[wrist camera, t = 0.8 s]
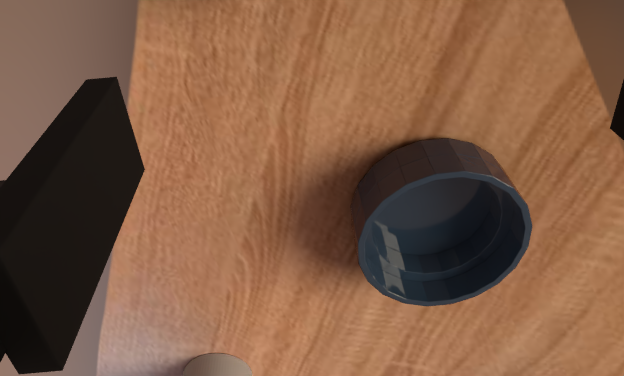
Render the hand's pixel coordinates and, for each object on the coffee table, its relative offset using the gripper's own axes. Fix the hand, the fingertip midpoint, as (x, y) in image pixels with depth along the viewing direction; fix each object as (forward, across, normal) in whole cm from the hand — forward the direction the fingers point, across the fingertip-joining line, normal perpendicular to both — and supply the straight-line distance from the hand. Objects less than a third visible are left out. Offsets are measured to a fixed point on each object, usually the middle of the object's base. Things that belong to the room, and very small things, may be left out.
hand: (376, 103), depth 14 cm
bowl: (+27, +9, -24) cm, 37 cm away
